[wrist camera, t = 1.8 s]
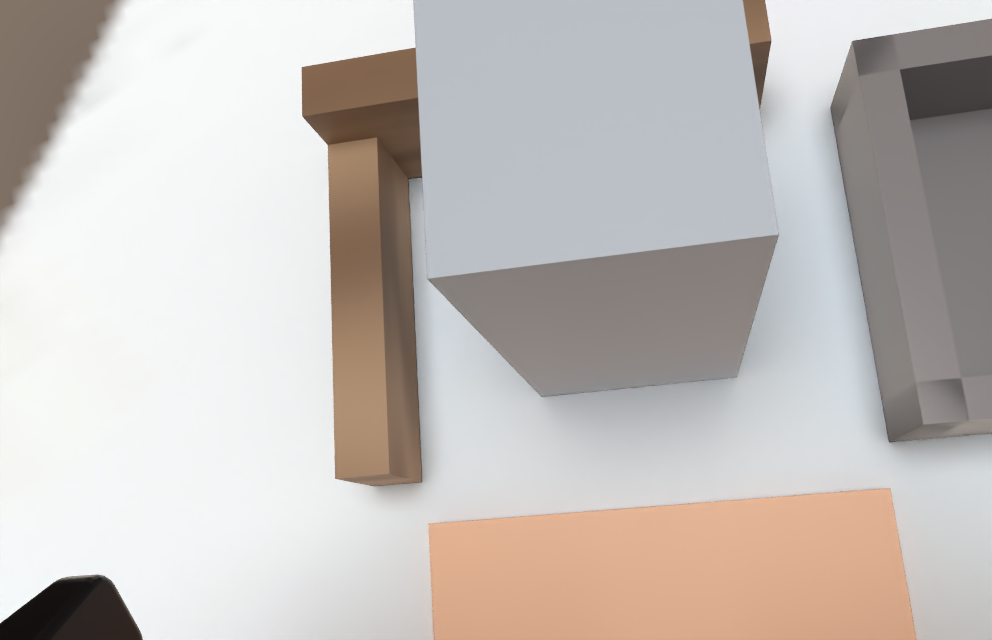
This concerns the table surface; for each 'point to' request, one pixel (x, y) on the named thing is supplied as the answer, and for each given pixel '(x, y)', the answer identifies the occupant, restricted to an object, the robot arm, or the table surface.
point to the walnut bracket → (387, 250)
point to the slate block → (596, 184)
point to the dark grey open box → (923, 220)
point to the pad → (677, 572)
